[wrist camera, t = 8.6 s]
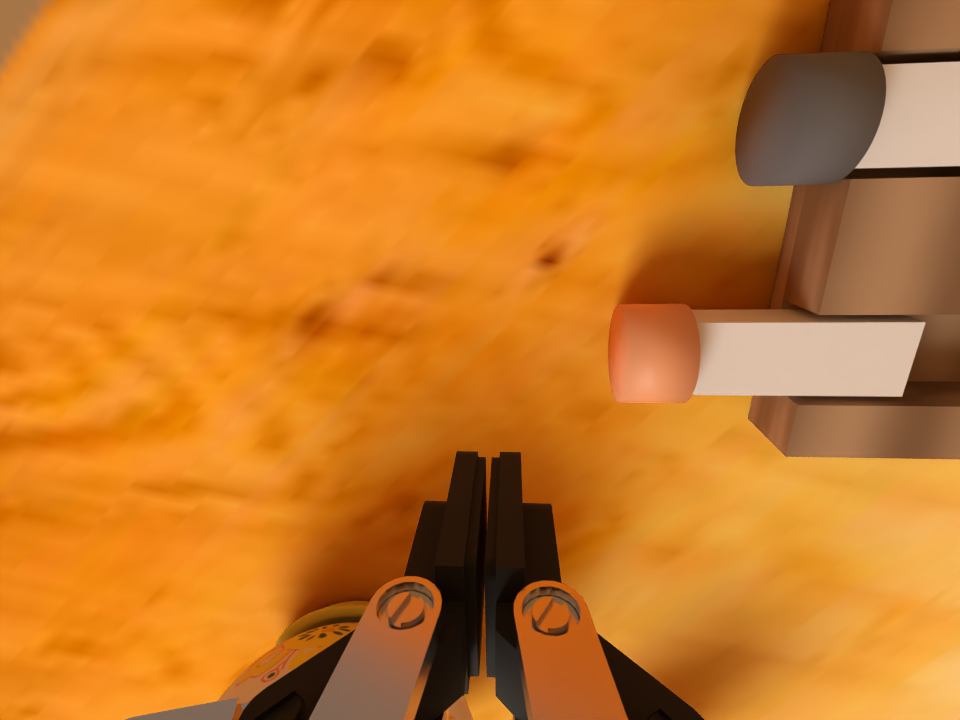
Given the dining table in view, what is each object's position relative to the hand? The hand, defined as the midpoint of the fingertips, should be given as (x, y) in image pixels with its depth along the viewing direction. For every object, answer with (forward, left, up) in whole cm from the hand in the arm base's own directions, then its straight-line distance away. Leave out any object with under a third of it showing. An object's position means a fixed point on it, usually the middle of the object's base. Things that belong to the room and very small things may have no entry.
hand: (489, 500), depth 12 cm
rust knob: (-12, 0, -14) cm, 19 cm away
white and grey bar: (-17, -10, -14) cm, 24 cm away
